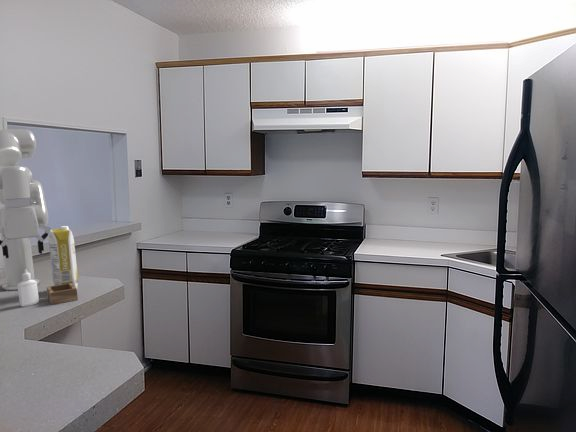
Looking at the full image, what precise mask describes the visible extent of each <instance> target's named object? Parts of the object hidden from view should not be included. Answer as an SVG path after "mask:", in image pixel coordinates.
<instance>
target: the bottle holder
mask: <svg viewBox="0 0 576 432" xmlns="http://www.w3.org/2000/svg"><path fill="white" fill-rule="evenodd" d="M46 292H47V293H46V294H47V300H48V301H49V302H50V304H51V305H52V306H53V305H59V304H64V303H69V302H75V301H78V300H79V298H78V288H76V287H75V286H74V285H73V284H72V283H67V284H61V285H51V286H46Z"/></svg>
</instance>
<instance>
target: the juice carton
mask: <svg viewBox="0 0 576 432" xmlns="http://www.w3.org/2000/svg"><path fill="white" fill-rule="evenodd" d="M48 246H49V247H48V248H49V255H50V265H51V274H52V282H53V286H55V285H61V284H67V283H72V284H73V285H74V286H75V287H76V288H77V289H78V287H79V278H78V277H79V276H78V274H79V273H78V266H77V257H76V246H75V237H74V234H73V232H72V230H71V229H70V228H69V226H68V225H63V226H60V228H54V229H51V230H50V232H49V234H48Z"/></svg>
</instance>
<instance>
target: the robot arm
mask: <svg viewBox="0 0 576 432" xmlns="http://www.w3.org/2000/svg"><path fill="white" fill-rule="evenodd" d="M36 149H37V139H36V137H35V134H34V133H33V131H31V130H30V129H26V128H25V129H24V128H18V129H17V128H13V129H12V128H11V129H10V128H9V129H8V128H4V129H0V204H1V205H3V206H1V207H0V247H1V248H2V256H3V263H4V265H3V266H4V272H5V281H6V283H4V284H3V285H2V286H1V287H2V289H3V290H4V291H14V290H15V291H18V284H19V283H20V282H21V281H23V279H22V274H23V273H24V270H26V269H27V271H28V273H30V275H31V280H35V281H36V282H37V286H38V285H39V284H41V283H40V279H37V278H35V270H34V262H33V261H34V259H33V252H32V251H33V250H32V244H31V240H30V238H36V239H37V249H38V251H37V252H38V254H40V255H42V254H43V252H44V247H45V246H44V241H45V239H47V237H49V232H50V230H52V229H51V227H50V226H47V225H48V224H49V220H50V219H49V212H48V211H49V210H48V207H47V201H46V197H45V191H44V188H43V185H42V183H41V182H40V181H39V180H35V179H33V173H32V171H31V170H30V169H29V167H28V166H24V165H18V164H19V163H20V162H21V161H22V159H30V158H32V157H34V154H35V152H36ZM40 229H42V230H44V232H43V234H42V235H40Z"/></svg>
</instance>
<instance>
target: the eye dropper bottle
mask: <svg viewBox="0 0 576 432" xmlns="http://www.w3.org/2000/svg"><path fill="white" fill-rule="evenodd" d="M22 279H23V281H21V282H20V283H19V284H18V290H17V293H18V302H19V303H18V304H19V306H20V307H24V308H25V307H30V306H33V305H37V304H39V303H40V298H39V296H40V295H39V289H38V285H37V282H36V281H35V280H31V275H30V273H28V271H27V269H26V270H24V273H23V274H22Z"/></svg>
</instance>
